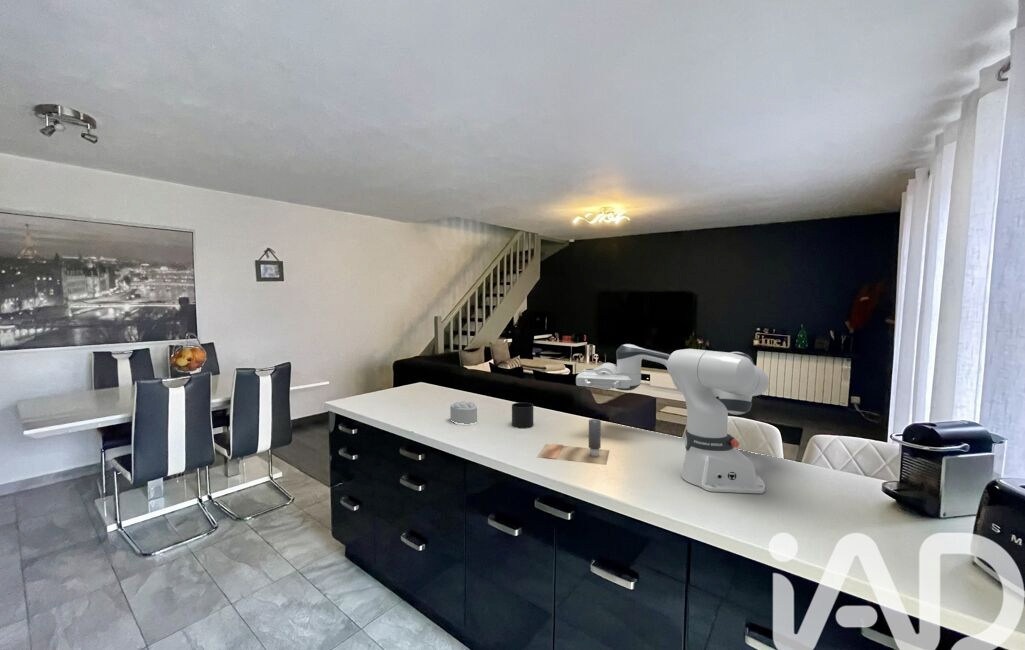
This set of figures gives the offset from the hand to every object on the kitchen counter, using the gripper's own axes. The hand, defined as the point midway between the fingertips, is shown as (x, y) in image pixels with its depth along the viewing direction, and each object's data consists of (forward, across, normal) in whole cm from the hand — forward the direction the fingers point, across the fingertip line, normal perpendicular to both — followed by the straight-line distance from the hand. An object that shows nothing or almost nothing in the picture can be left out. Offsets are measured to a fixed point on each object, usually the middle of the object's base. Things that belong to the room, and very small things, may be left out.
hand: (600, 385), depth 157 cm
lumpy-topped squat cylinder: (-15, +62, -23) cm, 68 cm away
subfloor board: (+15, +7, -23) cm, 28 cm away
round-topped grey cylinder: (+15, 0, -21) cm, 26 cm away
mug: (-18, +35, -24) cm, 46 cm away
